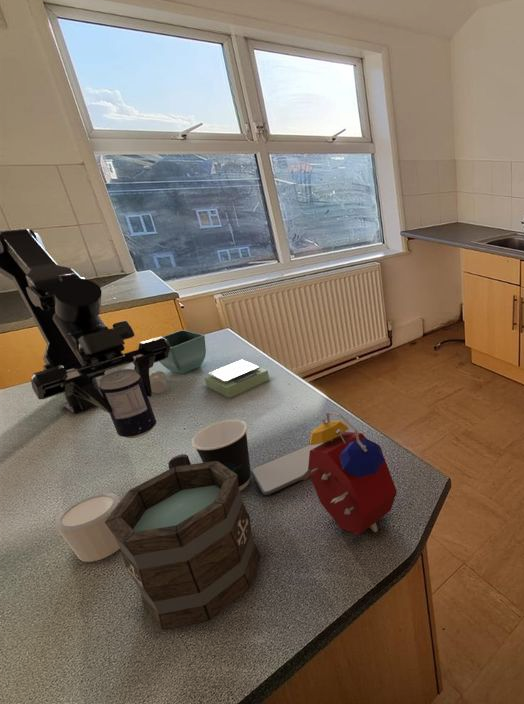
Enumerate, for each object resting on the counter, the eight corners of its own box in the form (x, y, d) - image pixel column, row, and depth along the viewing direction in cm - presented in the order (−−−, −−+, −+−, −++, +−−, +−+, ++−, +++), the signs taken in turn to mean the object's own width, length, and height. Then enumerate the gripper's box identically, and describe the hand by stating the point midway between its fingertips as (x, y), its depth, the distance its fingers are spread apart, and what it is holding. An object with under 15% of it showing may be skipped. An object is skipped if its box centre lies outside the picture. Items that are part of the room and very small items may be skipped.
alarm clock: (401, 526, 69) (390, 422, 61) (354, 565, 62) (335, 454, 55) (347, 484, 77) (331, 388, 69) (300, 515, 70) (277, 412, 63)
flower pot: (213, 364, 117) (205, 334, 113) (180, 379, 109) (170, 347, 106) (191, 358, 119) (182, 329, 116) (157, 373, 112) (147, 342, 108)
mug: (268, 590, 58) (244, 506, 53) (141, 654, 51) (97, 564, 45) (248, 500, 73) (228, 427, 67) (147, 539, 66) (114, 461, 60)
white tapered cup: (98, 570, 61) (80, 534, 58) (60, 560, 62) (40, 525, 59) (145, 530, 67) (131, 496, 64) (109, 523, 68) (94, 489, 66)
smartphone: (349, 454, 83) (263, 494, 73) (349, 459, 83) (264, 498, 73) (330, 435, 88) (249, 469, 78) (331, 438, 88) (250, 473, 79)
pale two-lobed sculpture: (148, 388, 107) (170, 377, 109) (148, 402, 101) (171, 390, 103) (136, 375, 105) (159, 364, 107) (135, 389, 99) (159, 376, 101)
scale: (206, 386, 106) (203, 375, 105) (246, 369, 114) (244, 359, 113) (229, 398, 102) (226, 387, 100) (269, 379, 110) (267, 369, 109)
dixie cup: (228, 507, 72) (212, 454, 67) (197, 492, 74) (180, 440, 70) (270, 476, 78) (257, 426, 74) (240, 463, 81) (226, 415, 77)
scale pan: (208, 375, 105) (207, 373, 105) (242, 361, 112) (242, 359, 112) (225, 383, 102) (225, 381, 102) (260, 368, 109) (259, 366, 108)
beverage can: (165, 422, 83) (146, 368, 79) (141, 441, 78) (120, 384, 73) (136, 421, 83) (115, 367, 79) (110, 440, 78) (87, 383, 73)
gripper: (8, 329, 66) (59, 413, 65) (151, 296, 81) (195, 364, 80) (14, 360, 73) (61, 436, 72) (146, 325, 88) (186, 388, 87)
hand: (130, 403), depth 77 cm, fingers closed on beverage can, 5 cm apart
